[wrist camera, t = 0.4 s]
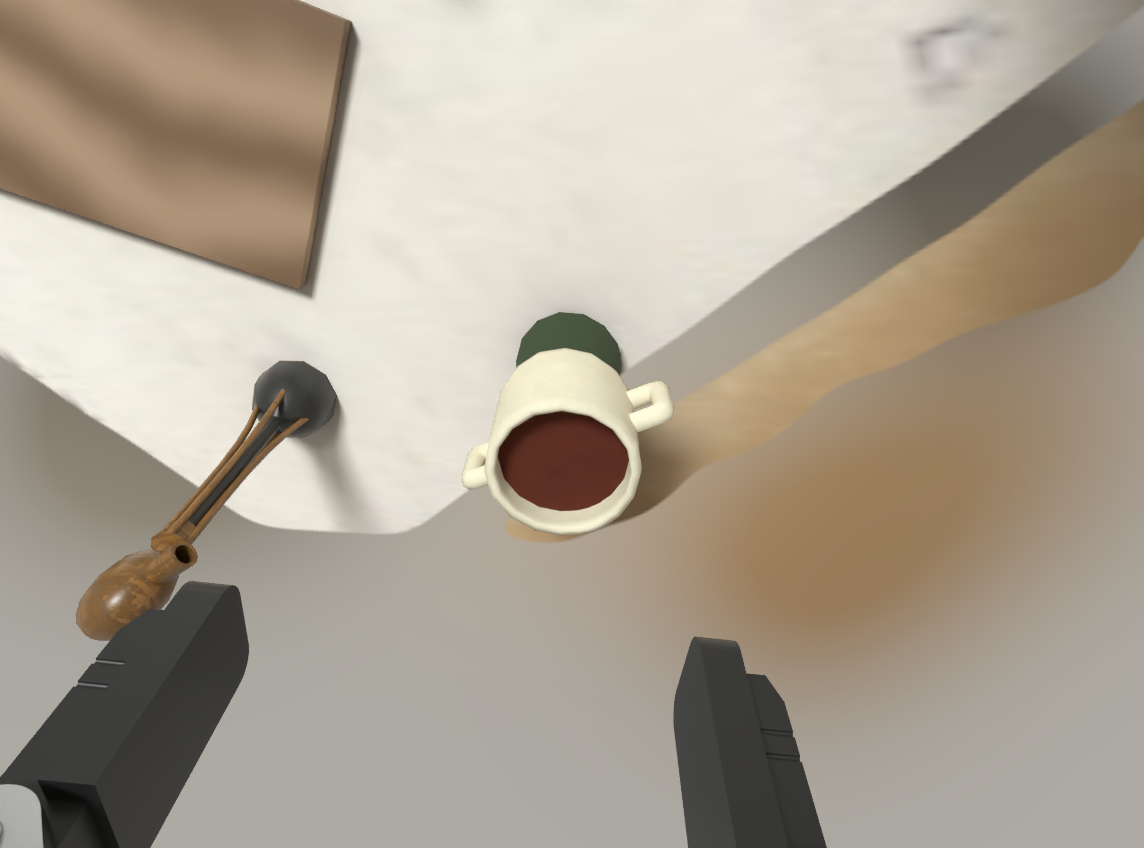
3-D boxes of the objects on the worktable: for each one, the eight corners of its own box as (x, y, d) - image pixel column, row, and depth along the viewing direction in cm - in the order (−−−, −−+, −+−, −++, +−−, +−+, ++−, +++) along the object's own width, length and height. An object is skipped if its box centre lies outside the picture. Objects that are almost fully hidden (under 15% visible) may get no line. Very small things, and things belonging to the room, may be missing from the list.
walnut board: (-96, -159, 30) (-116, -165, 29) (351, 21, 33) (344, 20, 32) (-66, 158, 36) (-82, 161, 35) (305, 284, 39) (299, 289, 38)
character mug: (513, 433, 44) (488, 566, 32) (463, 338, 41) (416, 449, 29) (672, 375, 42) (705, 497, 30) (632, 271, 38) (652, 362, 27)
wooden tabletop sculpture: (310, 337, 41) (103, 551, 23) (363, 393, 43) (207, 631, 25) (244, 387, 42) (5, 621, 25) (298, 439, 44) (109, 691, 27)
